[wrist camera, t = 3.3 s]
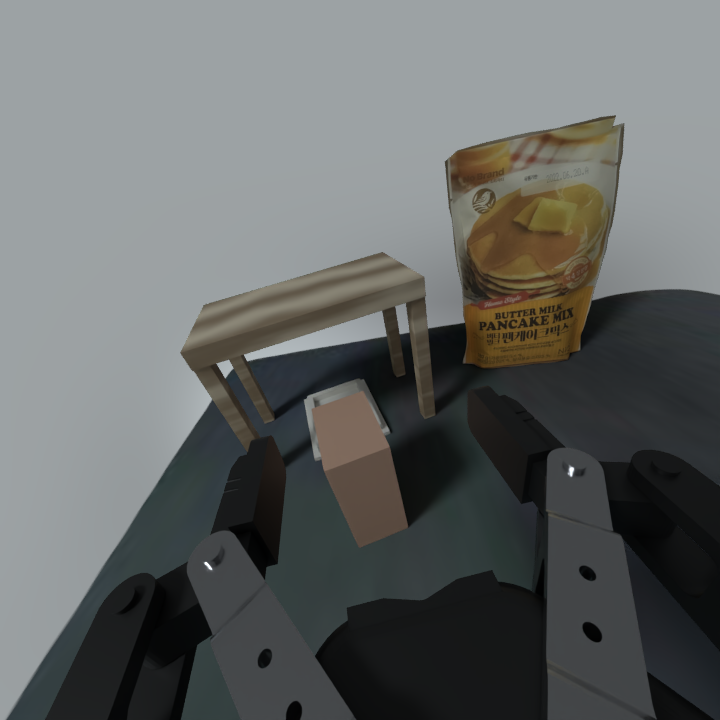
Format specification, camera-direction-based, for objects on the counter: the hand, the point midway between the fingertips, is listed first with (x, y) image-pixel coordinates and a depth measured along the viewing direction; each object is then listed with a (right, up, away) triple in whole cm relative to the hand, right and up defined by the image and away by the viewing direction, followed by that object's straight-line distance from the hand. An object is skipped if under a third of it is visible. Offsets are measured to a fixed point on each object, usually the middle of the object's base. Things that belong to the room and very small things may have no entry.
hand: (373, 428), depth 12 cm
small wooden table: (-3, -5, +30) cm, 31 cm away
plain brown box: (+1, -12, +19) cm, 22 cm away
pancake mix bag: (+24, +4, +34) cm, 41 cm away
